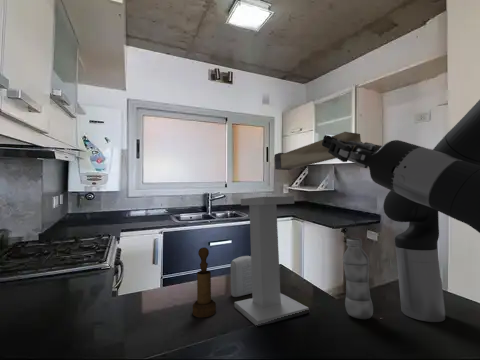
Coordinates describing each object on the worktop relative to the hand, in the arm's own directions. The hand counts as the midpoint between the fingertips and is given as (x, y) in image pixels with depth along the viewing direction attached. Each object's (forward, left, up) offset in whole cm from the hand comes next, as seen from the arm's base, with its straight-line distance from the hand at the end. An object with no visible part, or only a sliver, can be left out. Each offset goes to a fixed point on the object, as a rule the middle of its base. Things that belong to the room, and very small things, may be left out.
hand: (332, 141), depth 50 cm
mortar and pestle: (+17, -35, -43) cm, 58 cm away
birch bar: (0, -7, -3) cm, 7 cm away
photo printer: (0, -43, -43) cm, 61 cm away
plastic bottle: (-18, -12, -42) cm, 48 cm away
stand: (0, -27, -42) cm, 50 cm away
